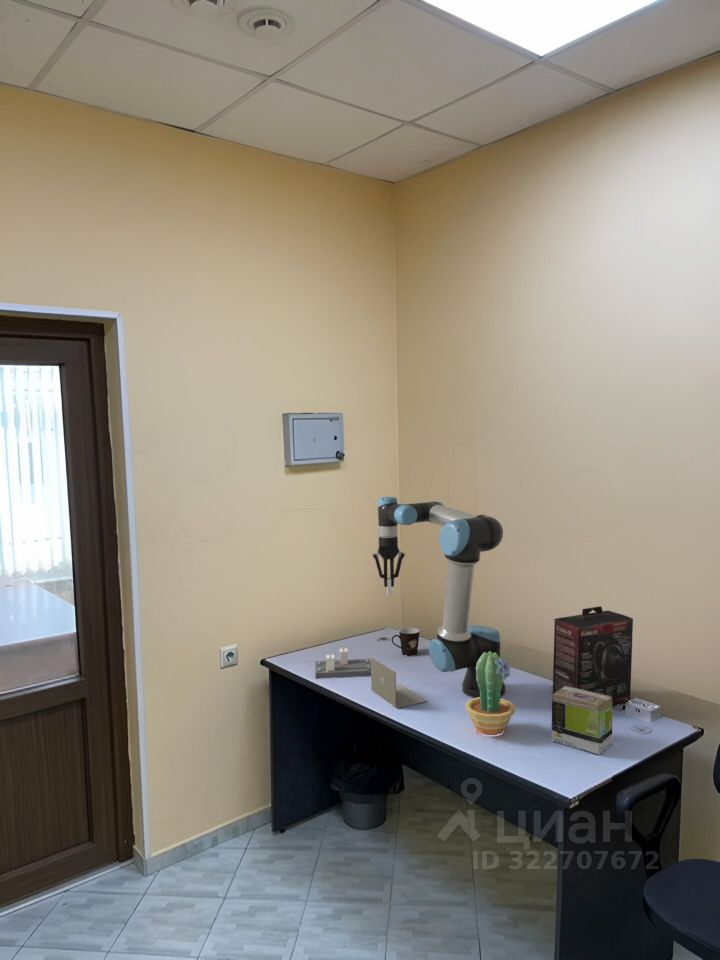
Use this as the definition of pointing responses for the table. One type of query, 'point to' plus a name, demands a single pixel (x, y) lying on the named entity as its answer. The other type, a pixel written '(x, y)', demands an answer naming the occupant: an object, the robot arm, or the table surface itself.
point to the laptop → (391, 687)
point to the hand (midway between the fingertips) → (389, 594)
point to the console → (344, 668)
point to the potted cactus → (490, 696)
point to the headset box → (594, 653)
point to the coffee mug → (408, 640)
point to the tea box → (582, 719)
